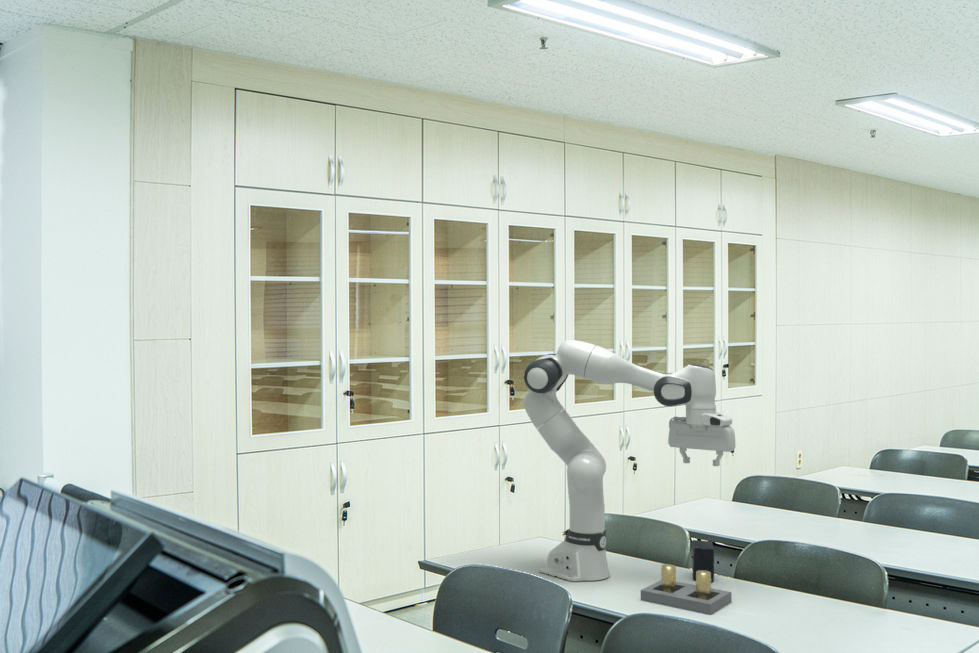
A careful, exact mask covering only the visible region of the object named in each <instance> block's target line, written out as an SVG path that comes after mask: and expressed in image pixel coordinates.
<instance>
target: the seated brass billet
mask: <svg viewBox="0 0 979 653" xmlns="http://www.w3.org/2000/svg"><path fill="white" fill-rule="evenodd" d="M676 569H677V568H676V565H675V564H672V563H671V564H670V563H663V564H662V565H661V580H662V591H664V592H669V593H674V592H676V582H677V580H676V579H677V572H676Z"/></svg>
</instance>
